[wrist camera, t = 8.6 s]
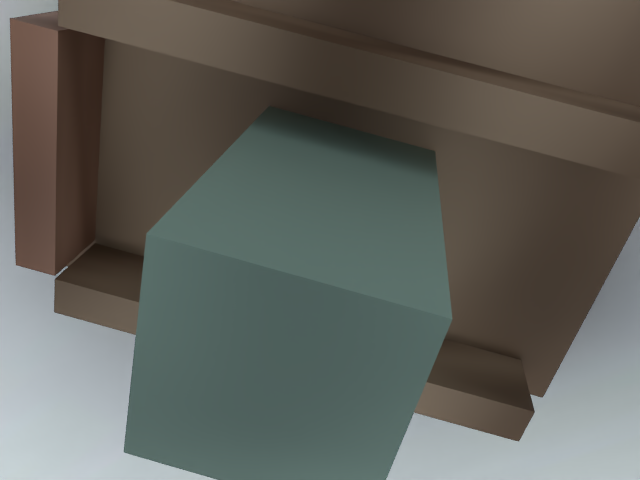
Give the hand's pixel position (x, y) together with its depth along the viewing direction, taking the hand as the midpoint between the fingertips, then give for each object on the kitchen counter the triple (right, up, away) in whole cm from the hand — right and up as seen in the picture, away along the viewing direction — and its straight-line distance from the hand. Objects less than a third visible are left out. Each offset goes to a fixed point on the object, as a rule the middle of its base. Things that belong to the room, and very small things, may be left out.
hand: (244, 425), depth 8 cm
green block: (+1, +3, +7) cm, 8 cm away
